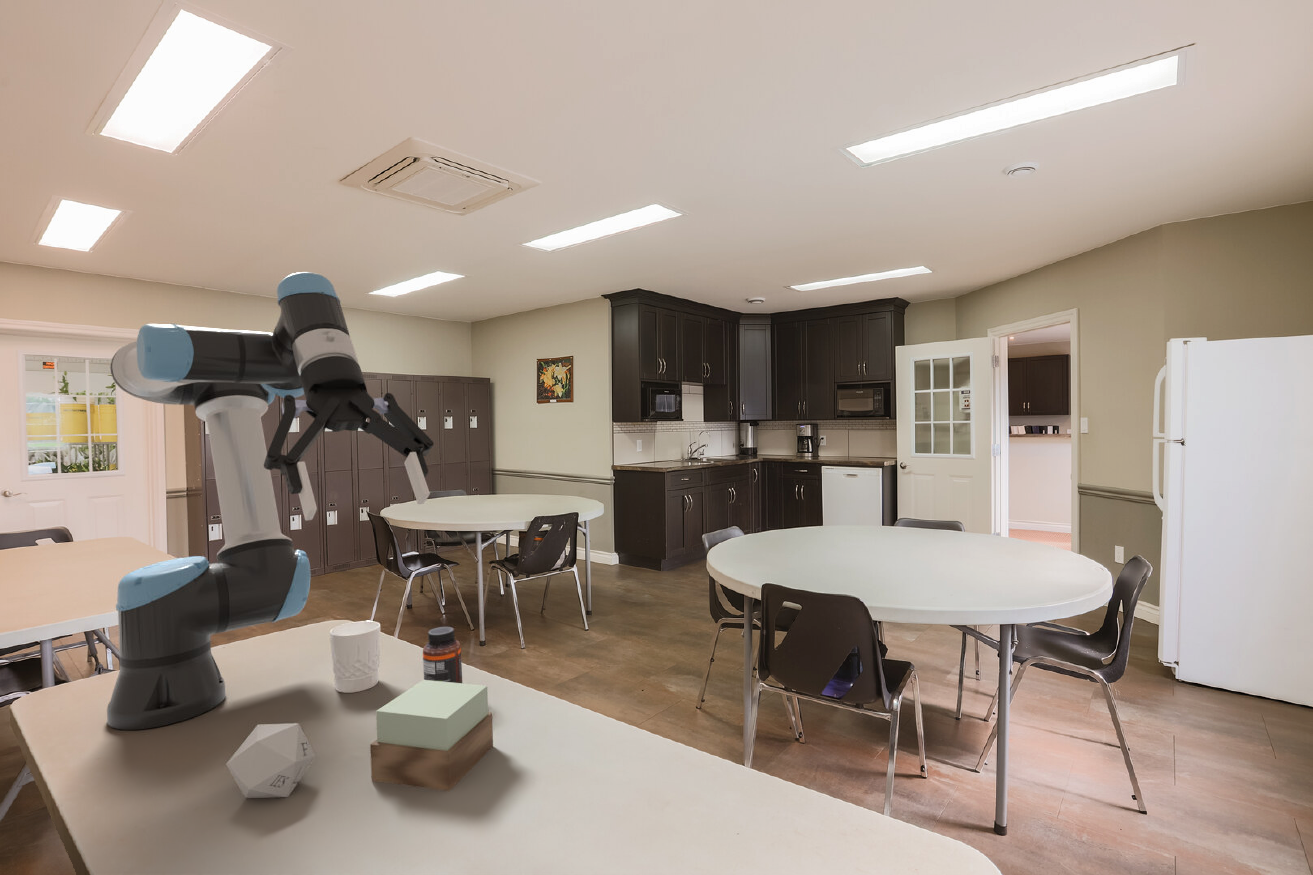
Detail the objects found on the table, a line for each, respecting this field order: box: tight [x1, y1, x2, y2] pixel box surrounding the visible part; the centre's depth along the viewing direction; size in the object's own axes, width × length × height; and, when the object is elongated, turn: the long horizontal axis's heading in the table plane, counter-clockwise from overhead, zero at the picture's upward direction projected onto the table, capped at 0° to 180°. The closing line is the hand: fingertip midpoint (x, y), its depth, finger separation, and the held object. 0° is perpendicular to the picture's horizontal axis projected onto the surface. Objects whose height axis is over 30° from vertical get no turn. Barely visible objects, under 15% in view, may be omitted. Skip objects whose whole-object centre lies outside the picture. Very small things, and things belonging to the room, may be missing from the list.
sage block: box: [375, 679, 489, 751], centre depth 85 cm, size 10×10×4 cm
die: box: [226, 722, 317, 799], centre depth 79 cm, size 8×9×10 cm
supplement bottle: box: [422, 626, 463, 684], centre depth 105 cm, size 6×6×11 cm
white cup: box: [329, 620, 381, 694], centre depth 111 cm, size 8×8×10 cm
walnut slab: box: [370, 712, 494, 792], centre depth 85 cm, size 11×11×5 cm
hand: (370, 506), depth 80 cm, fingers open, 13 cm apart
